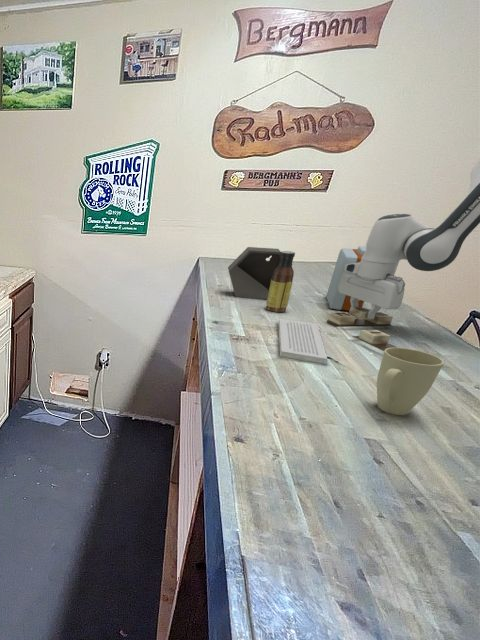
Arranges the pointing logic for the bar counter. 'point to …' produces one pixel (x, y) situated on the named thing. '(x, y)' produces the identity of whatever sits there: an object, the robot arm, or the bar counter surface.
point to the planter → (254, 272)
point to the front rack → (375, 339)
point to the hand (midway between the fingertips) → (361, 314)
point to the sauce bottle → (281, 283)
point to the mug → (405, 378)
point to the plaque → (301, 341)
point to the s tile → (359, 313)
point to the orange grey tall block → (333, 294)
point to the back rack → (350, 320)
